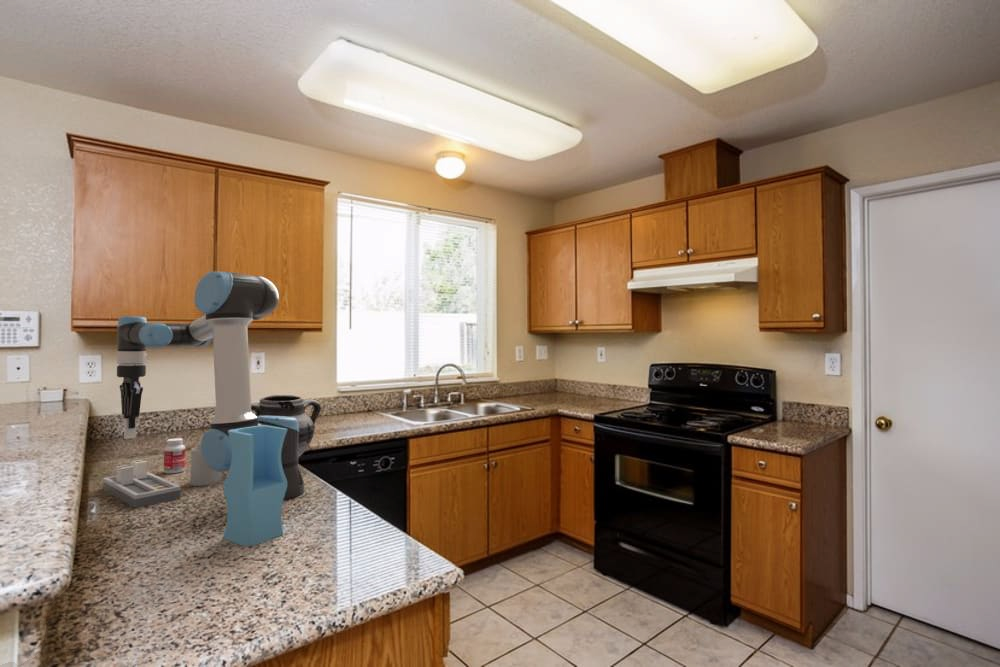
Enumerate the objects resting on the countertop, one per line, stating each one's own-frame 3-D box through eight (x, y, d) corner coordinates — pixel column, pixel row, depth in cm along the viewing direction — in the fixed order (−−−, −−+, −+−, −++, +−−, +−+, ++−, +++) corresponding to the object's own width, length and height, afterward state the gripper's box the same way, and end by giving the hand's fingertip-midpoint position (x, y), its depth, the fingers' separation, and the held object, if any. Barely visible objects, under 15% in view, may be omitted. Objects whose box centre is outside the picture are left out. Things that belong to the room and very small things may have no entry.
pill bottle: (172, 474, 170) (173, 441, 170) (159, 473, 172) (159, 440, 172) (189, 470, 176) (189, 438, 176) (175, 468, 178) (176, 437, 178)
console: (180, 498, 146) (180, 486, 146) (135, 508, 137) (135, 495, 137) (144, 481, 162) (145, 470, 163) (102, 489, 154) (102, 478, 154)
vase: (247, 547, 113) (248, 435, 113) (222, 537, 118) (224, 430, 118) (286, 533, 121) (288, 428, 121) (261, 524, 126) (263, 424, 127)
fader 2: (147, 477, 157) (147, 460, 157) (135, 479, 155) (136, 462, 155) (142, 475, 160) (142, 458, 160) (131, 477, 157) (131, 460, 157)
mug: (219, 484, 160) (219, 449, 160) (187, 487, 157) (188, 451, 157) (224, 474, 171) (224, 442, 171) (194, 477, 168) (195, 444, 168)
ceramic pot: (309, 454, 202) (310, 391, 202) (330, 466, 184) (331, 397, 184) (229, 465, 184) (230, 395, 184) (244, 479, 166) (245, 402, 166)
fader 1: (133, 483, 151) (133, 466, 151) (120, 485, 149) (121, 468, 149) (128, 481, 153) (128, 464, 153) (116, 483, 151) (116, 465, 151)
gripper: (152, 365, 162) (151, 439, 162) (137, 363, 169) (136, 433, 169) (124, 366, 156) (123, 442, 156) (110, 363, 163) (108, 437, 163)
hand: (130, 438), depth 162 cm, fingers closed
